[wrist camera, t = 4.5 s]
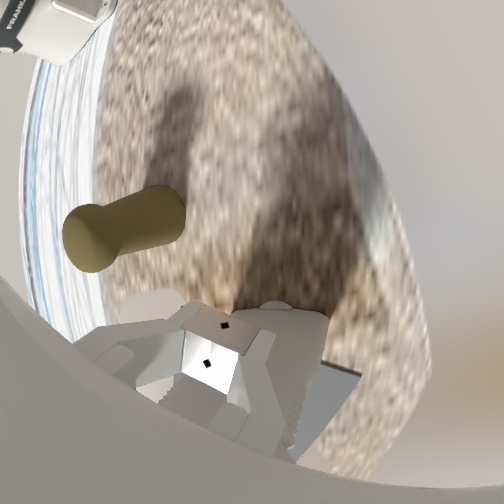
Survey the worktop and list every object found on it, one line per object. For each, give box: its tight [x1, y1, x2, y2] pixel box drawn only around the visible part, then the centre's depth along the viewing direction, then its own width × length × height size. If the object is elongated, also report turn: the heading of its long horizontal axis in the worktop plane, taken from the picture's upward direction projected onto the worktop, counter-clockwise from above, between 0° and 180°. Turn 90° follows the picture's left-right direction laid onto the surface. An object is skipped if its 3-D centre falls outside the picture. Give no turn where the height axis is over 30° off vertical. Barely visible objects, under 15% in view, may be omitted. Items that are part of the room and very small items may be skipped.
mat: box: [173, 306, 361, 463], centre depth 31 cm, size 22×20×1 cm
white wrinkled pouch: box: [158, 300, 330, 464], centre depth 16 cm, size 11×4×22 cm, turn 99°
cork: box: [62, 185, 186, 273], centre depth 22 cm, size 6×6×11 cm
